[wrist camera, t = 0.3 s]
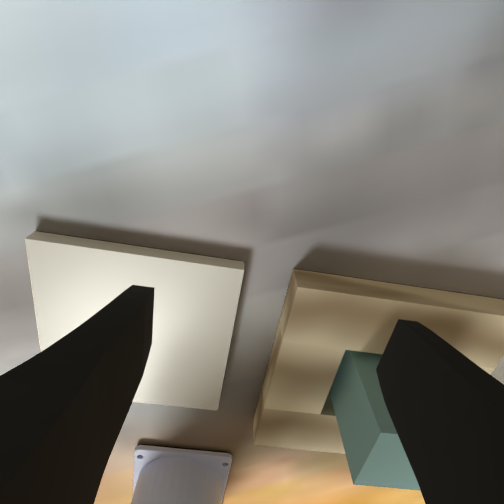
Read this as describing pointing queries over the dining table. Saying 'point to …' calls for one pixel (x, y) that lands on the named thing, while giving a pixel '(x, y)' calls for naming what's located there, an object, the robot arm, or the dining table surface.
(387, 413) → the teal block
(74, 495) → the robot arm
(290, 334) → the pocket holder
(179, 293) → the cream plate
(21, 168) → the dining table surface
